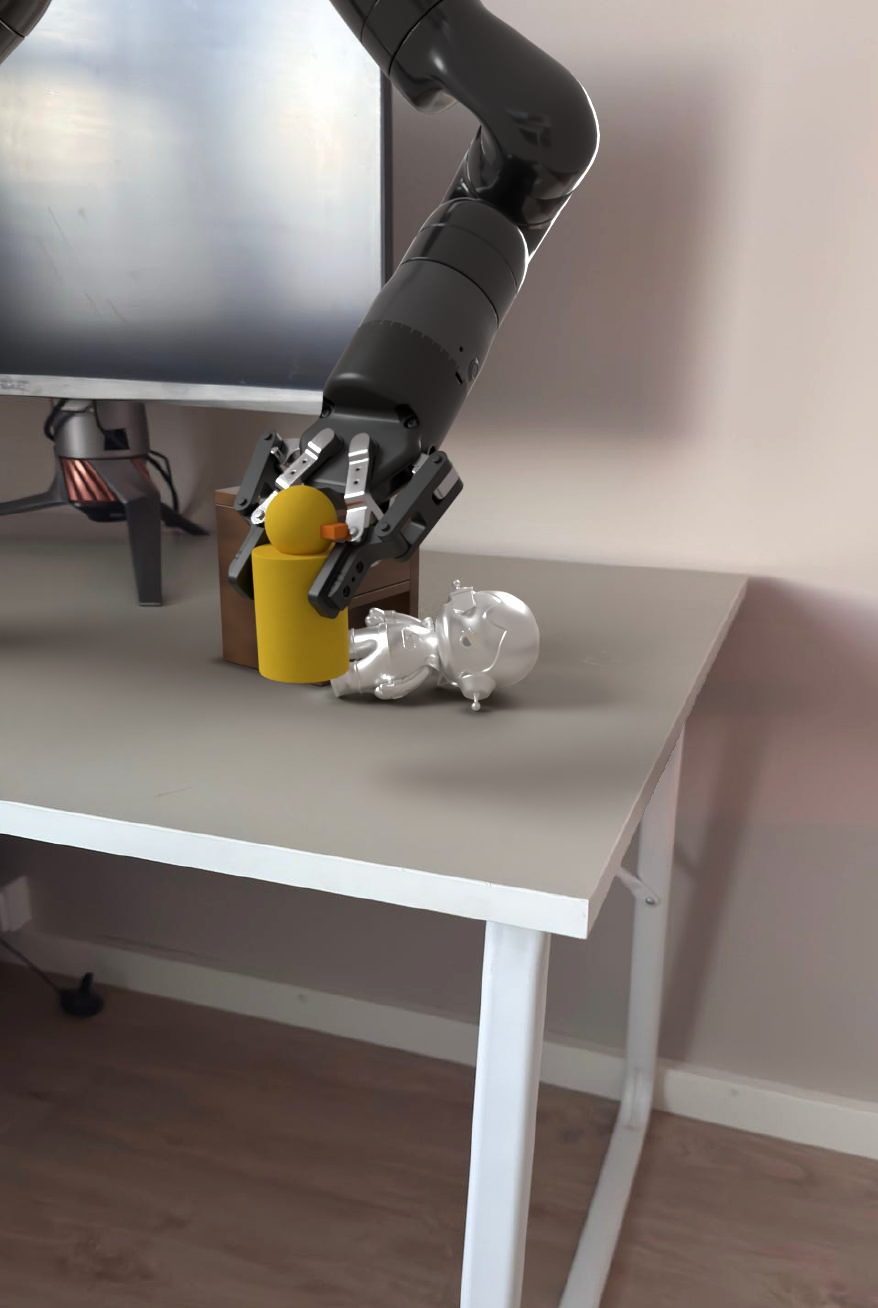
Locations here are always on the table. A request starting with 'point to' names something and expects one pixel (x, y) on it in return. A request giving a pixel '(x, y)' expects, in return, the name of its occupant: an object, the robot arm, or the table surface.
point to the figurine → (444, 647)
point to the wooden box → (378, 589)
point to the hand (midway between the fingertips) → (280, 599)
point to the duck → (297, 590)
